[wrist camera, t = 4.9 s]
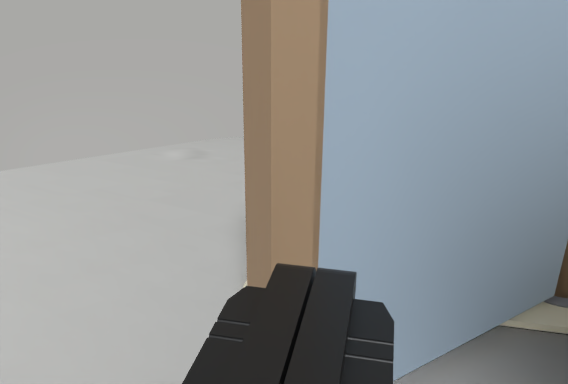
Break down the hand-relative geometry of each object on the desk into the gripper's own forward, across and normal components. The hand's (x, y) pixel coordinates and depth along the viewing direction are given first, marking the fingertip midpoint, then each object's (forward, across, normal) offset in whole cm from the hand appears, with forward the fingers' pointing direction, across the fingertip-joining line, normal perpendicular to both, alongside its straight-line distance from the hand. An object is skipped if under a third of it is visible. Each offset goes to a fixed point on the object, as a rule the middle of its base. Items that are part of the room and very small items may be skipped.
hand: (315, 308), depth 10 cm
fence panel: (+7, -3, +6) cm, 10 cm away
